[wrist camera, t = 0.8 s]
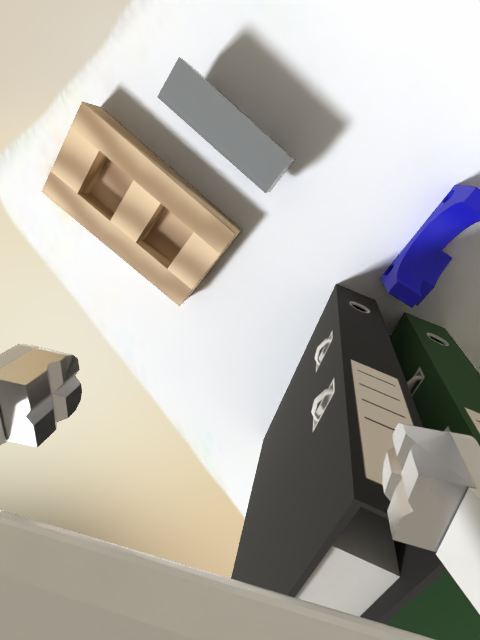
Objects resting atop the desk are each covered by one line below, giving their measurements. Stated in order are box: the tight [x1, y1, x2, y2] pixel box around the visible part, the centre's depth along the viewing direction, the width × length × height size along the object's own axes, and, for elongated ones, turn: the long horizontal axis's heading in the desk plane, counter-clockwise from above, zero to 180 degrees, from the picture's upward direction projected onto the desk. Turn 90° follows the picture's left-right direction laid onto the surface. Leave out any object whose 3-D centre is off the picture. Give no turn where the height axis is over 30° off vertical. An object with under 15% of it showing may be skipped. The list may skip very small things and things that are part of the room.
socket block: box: [42, 102, 241, 306], centre depth 44 cm, size 12×22×4 cm, turn 52°
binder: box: [231, 284, 480, 640], centre depth 35 cm, size 27×15×32 cm, turn 161°
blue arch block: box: [381, 185, 480, 308], centre depth 37 cm, size 12×4×6 cm, turn 151°
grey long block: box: [158, 57, 294, 193], centre depth 37 cm, size 4×14×6 cm, turn 52°
